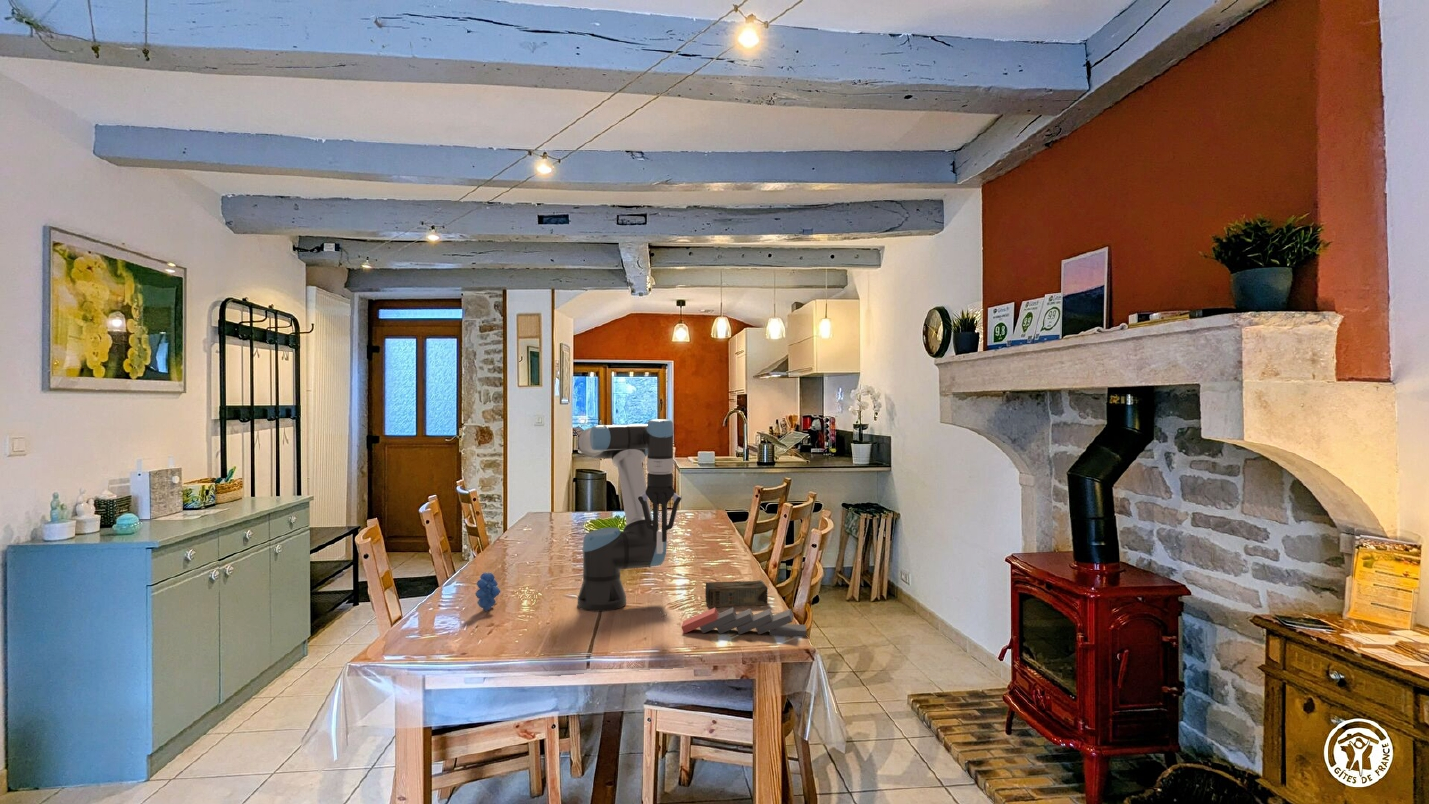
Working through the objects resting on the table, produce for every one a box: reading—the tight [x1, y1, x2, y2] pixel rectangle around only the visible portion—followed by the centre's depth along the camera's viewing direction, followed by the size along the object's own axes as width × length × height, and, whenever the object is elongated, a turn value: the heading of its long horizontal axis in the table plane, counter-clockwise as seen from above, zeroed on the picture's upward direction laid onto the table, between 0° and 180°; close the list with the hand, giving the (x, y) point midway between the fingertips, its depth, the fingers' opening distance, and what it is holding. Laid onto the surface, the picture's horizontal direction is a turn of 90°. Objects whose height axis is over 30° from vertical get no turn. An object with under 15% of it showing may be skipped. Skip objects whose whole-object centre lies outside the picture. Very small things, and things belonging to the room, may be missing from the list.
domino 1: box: [699, 607, 737, 634], centre depth 191 cm, size 2×5×10 cm
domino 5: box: [769, 623, 808, 638], centre depth 189 cm, size 2×5×10 cm
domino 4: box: [755, 608, 795, 635], centre depth 189 cm, size 2×5×10 cm
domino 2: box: [716, 608, 754, 635], centre depth 191 cm, size 2×5×10 cm
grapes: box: [475, 572, 501, 612], centre depth 210 cm, size 12×7×12 cm, turn 173°
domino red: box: [681, 607, 719, 634], centre depth 191 cm, size 2×5×10 cm
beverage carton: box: [704, 580, 769, 609], centre depth 217 cm, size 8×19×7 cm, turn 99°
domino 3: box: [735, 608, 773, 635], centre depth 190 cm, size 2×5×10 cm
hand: (660, 552), depth 201 cm, fingers closed
